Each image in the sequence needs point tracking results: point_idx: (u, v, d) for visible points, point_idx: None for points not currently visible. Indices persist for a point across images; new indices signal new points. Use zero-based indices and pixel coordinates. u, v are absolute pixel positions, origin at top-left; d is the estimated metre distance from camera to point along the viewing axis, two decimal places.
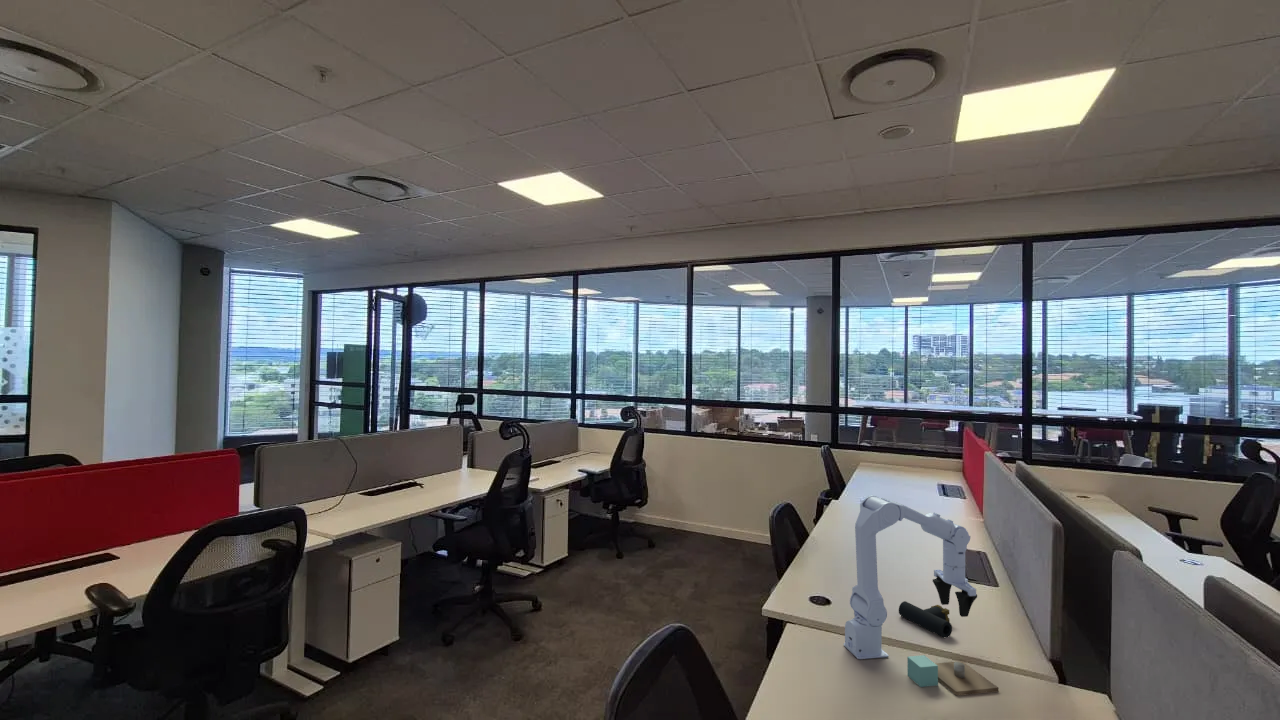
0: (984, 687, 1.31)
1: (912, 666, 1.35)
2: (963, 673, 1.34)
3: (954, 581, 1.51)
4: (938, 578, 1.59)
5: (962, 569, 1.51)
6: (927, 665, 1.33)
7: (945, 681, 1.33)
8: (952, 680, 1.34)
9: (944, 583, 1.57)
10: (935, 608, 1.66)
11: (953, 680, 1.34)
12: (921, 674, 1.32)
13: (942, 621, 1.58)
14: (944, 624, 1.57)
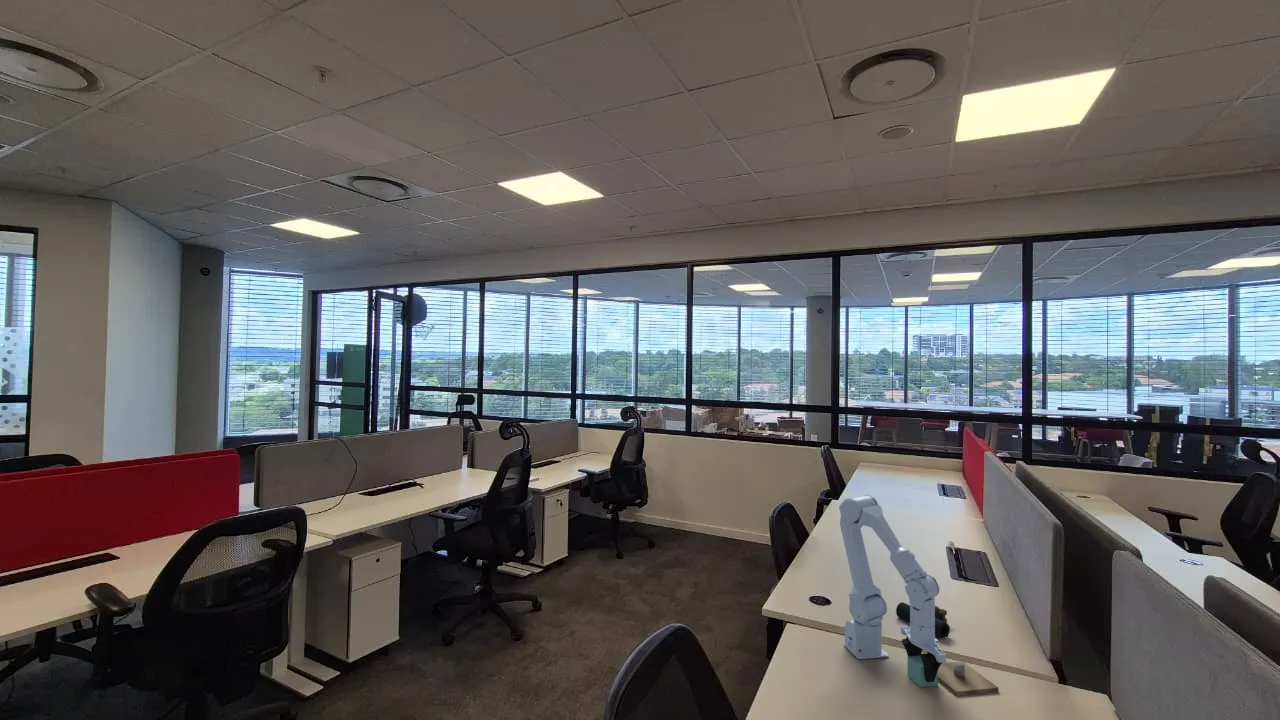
0: (984, 687, 1.31)
1: (912, 666, 1.35)
2: (963, 673, 1.34)
3: (922, 643, 1.33)
4: None
5: (931, 630, 1.33)
6: None
7: (945, 681, 1.33)
8: (952, 680, 1.34)
9: (914, 645, 1.38)
10: None
11: (953, 680, 1.34)
12: (921, 674, 1.32)
13: (940, 622, 1.57)
14: (942, 625, 1.56)
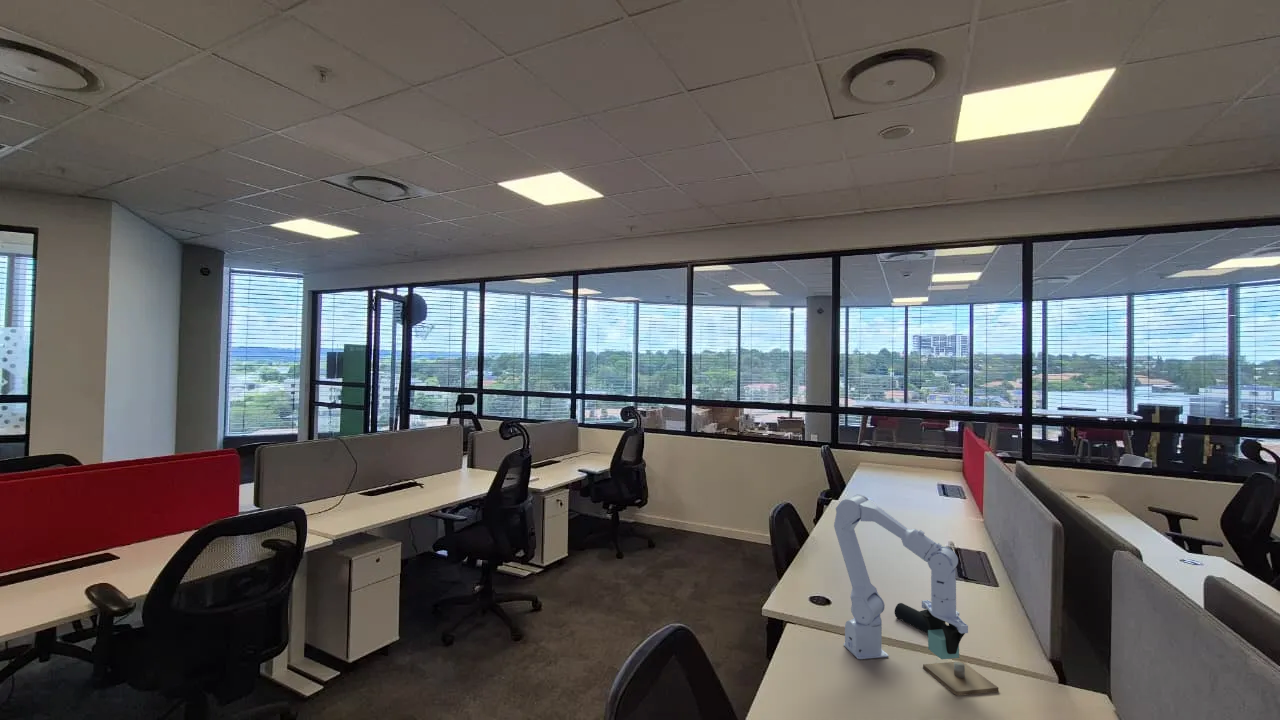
0: (984, 687, 1.31)
1: (933, 639, 1.36)
2: (963, 673, 1.34)
3: (943, 615, 1.33)
4: None
5: (952, 602, 1.33)
6: None
7: (945, 681, 1.33)
8: (952, 680, 1.34)
9: (935, 618, 1.38)
10: None
11: (953, 680, 1.34)
12: (942, 646, 1.33)
13: None
14: None
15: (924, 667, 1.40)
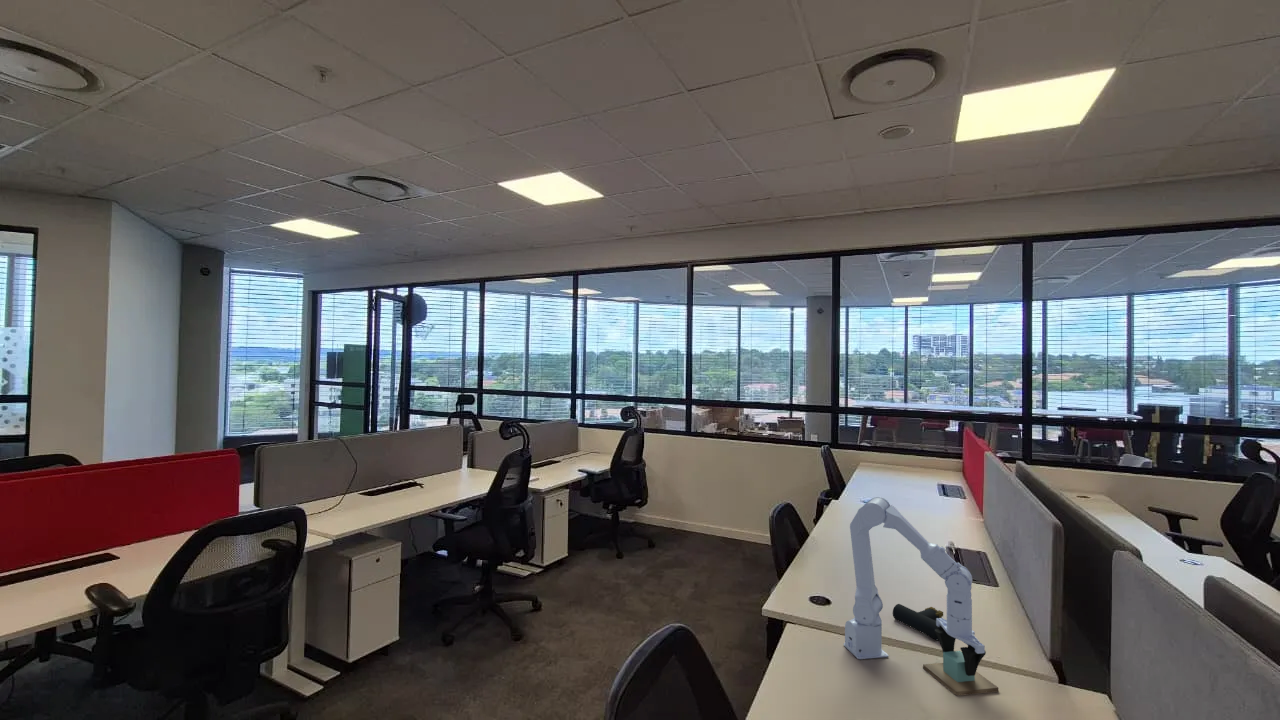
0: (984, 687, 1.31)
1: (948, 661, 1.36)
2: None
3: (959, 635, 1.33)
4: (941, 628, 1.41)
5: (968, 621, 1.33)
6: None
7: (945, 681, 1.33)
8: (952, 680, 1.34)
9: (948, 635, 1.39)
10: (929, 610, 1.64)
11: (953, 680, 1.34)
12: (958, 669, 1.33)
13: None
14: None
15: (924, 667, 1.40)
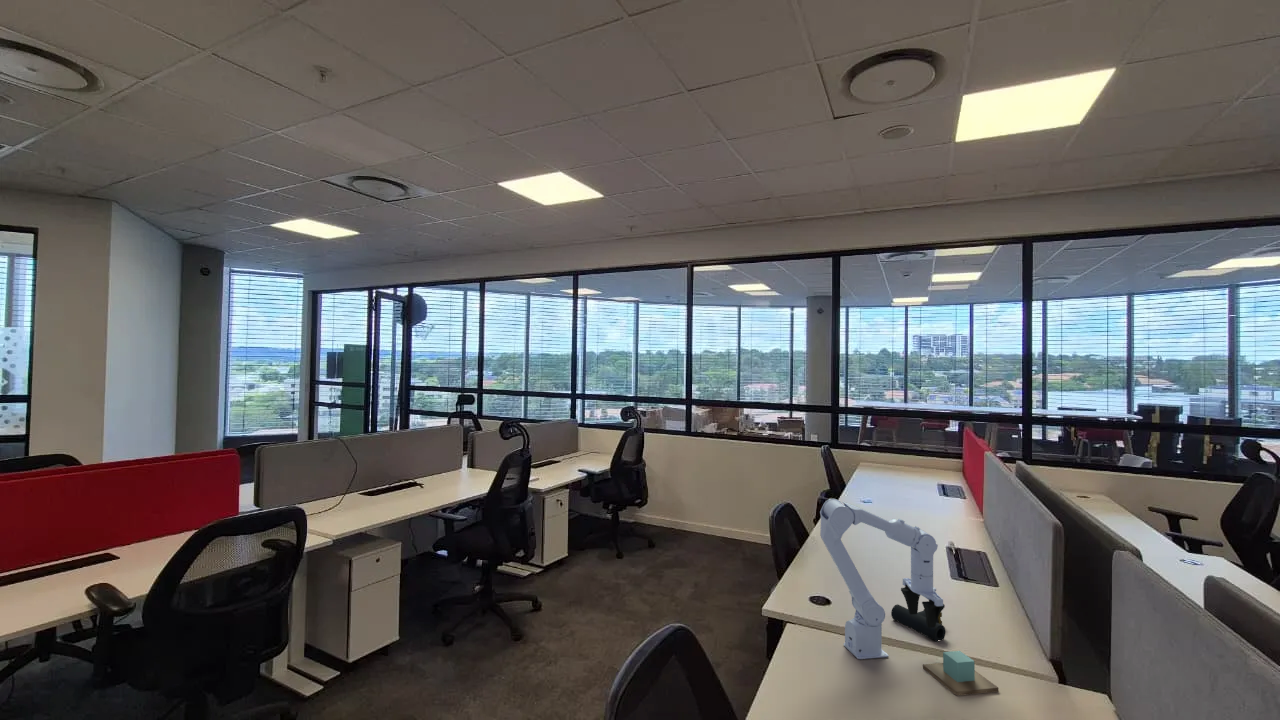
0: (984, 687, 1.31)
1: (948, 661, 1.36)
2: None
3: (921, 590, 1.46)
4: (906, 587, 1.54)
5: (930, 578, 1.46)
6: (964, 660, 1.34)
7: (945, 681, 1.33)
8: (952, 680, 1.34)
9: (912, 592, 1.52)
10: None
11: (953, 680, 1.34)
12: (958, 669, 1.33)
13: (936, 624, 1.56)
14: (938, 627, 1.55)
15: (924, 667, 1.40)
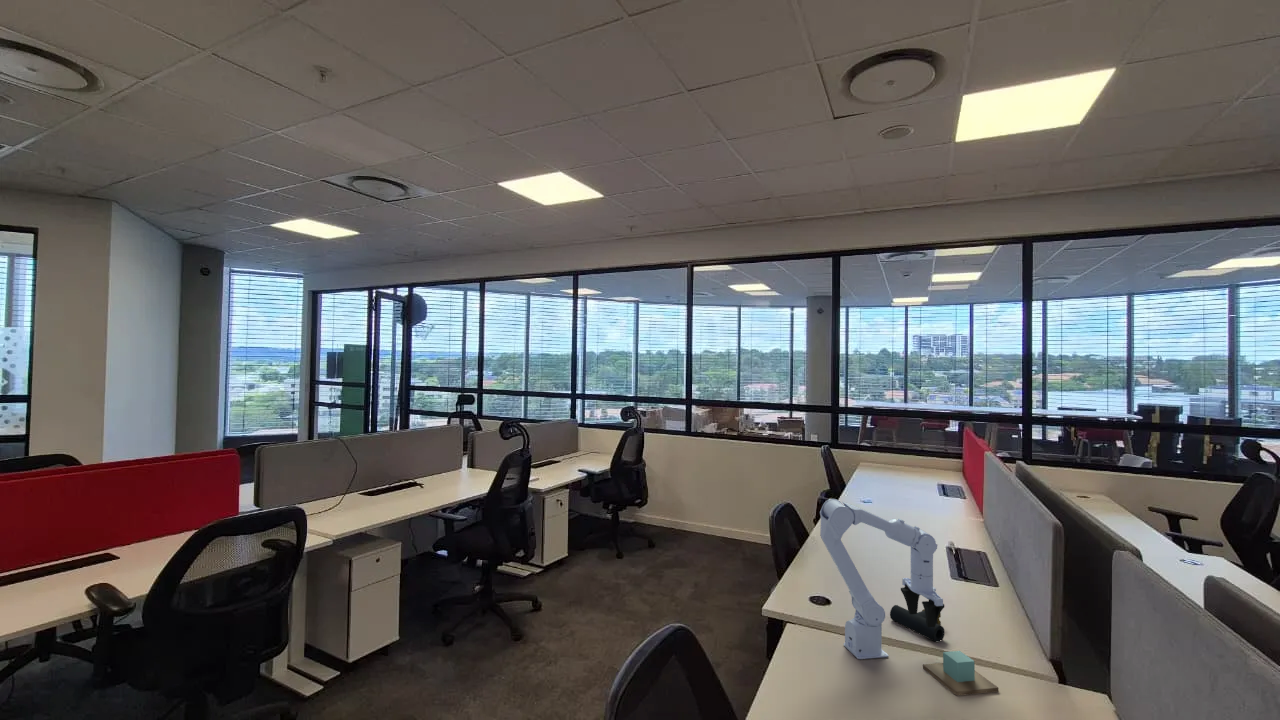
0: (984, 687, 1.31)
1: (948, 661, 1.36)
2: None
3: (921, 590, 1.46)
4: (906, 587, 1.54)
5: (929, 578, 1.46)
6: (964, 660, 1.34)
7: (945, 681, 1.33)
8: (952, 680, 1.34)
9: (912, 592, 1.52)
10: None
11: (953, 680, 1.34)
12: (958, 669, 1.33)
13: (935, 625, 1.55)
14: (937, 628, 1.54)
15: (924, 667, 1.40)
